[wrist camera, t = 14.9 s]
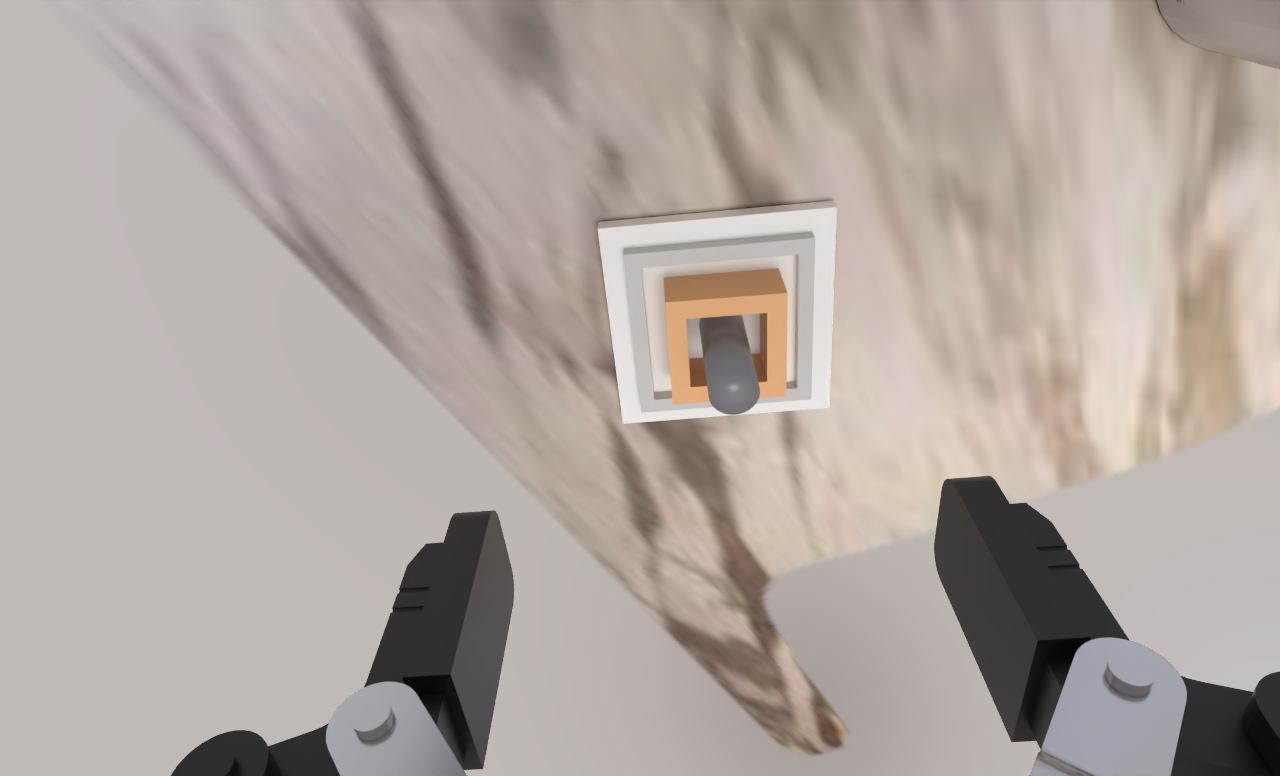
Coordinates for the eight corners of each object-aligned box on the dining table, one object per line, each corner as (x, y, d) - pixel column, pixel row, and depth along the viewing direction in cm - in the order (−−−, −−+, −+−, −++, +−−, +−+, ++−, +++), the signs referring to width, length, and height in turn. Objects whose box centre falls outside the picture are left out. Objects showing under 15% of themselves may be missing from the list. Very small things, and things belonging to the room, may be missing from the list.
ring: (778, 268, 41) (787, 292, 38) (777, 367, 44) (786, 396, 41) (663, 277, 41) (664, 302, 38) (671, 375, 44) (672, 404, 42)
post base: (832, 200, 40) (872, 262, 33) (825, 398, 46) (857, 484, 39) (598, 221, 40) (589, 286, 34) (623, 414, 47) (620, 501, 40)
